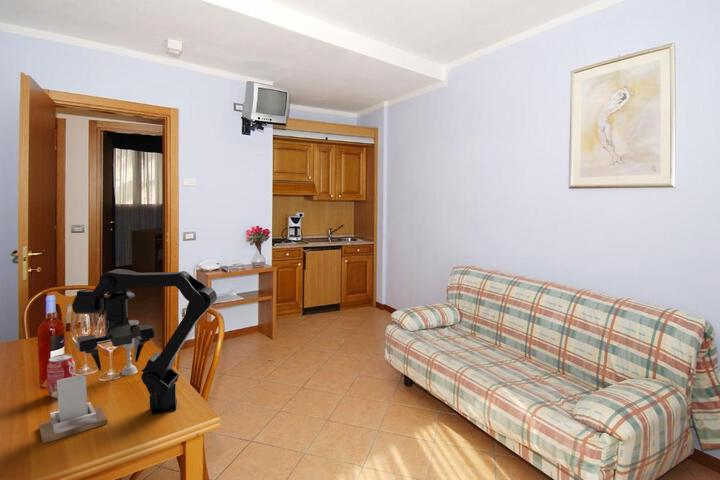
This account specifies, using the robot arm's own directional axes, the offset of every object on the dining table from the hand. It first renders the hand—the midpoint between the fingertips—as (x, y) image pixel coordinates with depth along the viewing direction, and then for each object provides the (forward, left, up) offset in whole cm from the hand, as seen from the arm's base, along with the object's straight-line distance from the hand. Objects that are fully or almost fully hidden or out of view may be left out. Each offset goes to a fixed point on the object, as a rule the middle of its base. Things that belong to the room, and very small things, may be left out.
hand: (118, 365), depth 116 cm
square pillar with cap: (+10, +6, -12) cm, 17 cm away
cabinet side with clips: (+10, +6, -13) cm, 17 cm away
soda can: (+18, -16, -13) cm, 27 cm away
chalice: (+1, -27, -13) cm, 30 cm away
